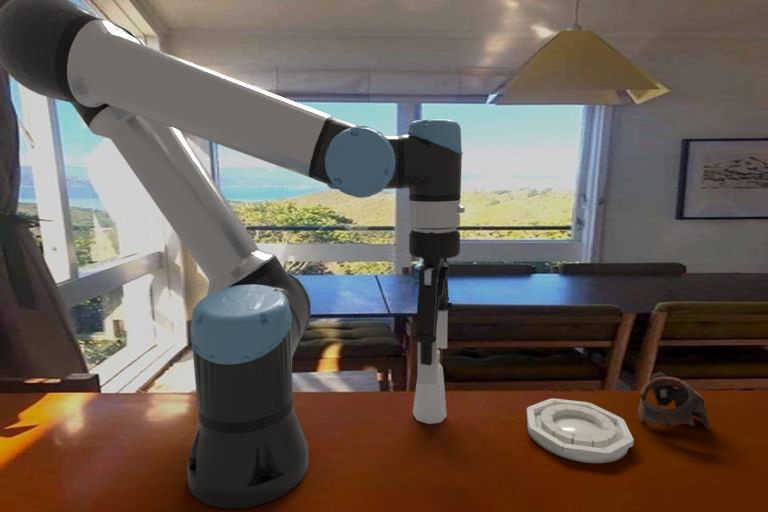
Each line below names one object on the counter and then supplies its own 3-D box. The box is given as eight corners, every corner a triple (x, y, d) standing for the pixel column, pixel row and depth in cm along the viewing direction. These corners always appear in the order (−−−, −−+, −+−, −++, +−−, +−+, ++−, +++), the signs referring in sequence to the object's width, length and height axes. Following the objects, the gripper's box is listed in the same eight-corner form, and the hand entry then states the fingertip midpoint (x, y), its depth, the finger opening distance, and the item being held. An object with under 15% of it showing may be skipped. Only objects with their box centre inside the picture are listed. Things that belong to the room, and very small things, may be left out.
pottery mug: (727, 443, 69) (715, 404, 66) (661, 462, 71) (646, 425, 68) (685, 387, 80) (673, 351, 77) (628, 404, 82) (615, 370, 79)
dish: (530, 454, 65) (531, 441, 65) (524, 405, 78) (525, 394, 78) (641, 470, 62) (642, 456, 61) (615, 415, 75) (617, 404, 75)
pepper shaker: (446, 426, 72) (448, 358, 70) (410, 422, 73) (412, 356, 71) (447, 408, 77) (449, 345, 75) (414, 405, 78) (415, 342, 76)
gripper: (452, 243, 57) (449, 405, 61) (465, 219, 80) (463, 337, 84) (391, 241, 58) (393, 399, 62) (422, 218, 82) (422, 334, 86)
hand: (433, 363), depth 73 cm, fingers open, 13 cm apart
